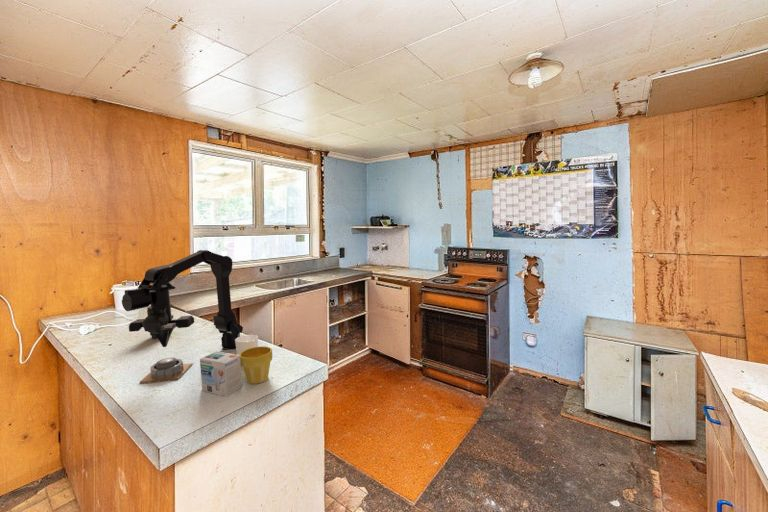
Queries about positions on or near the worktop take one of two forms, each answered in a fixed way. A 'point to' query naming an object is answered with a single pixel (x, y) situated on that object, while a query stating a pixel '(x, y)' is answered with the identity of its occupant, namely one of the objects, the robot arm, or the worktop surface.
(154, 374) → the ring mount
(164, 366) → the gray tapered cylinder
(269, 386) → the worktop surface
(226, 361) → the light bulb box
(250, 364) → the plant pot
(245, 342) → the white cup
